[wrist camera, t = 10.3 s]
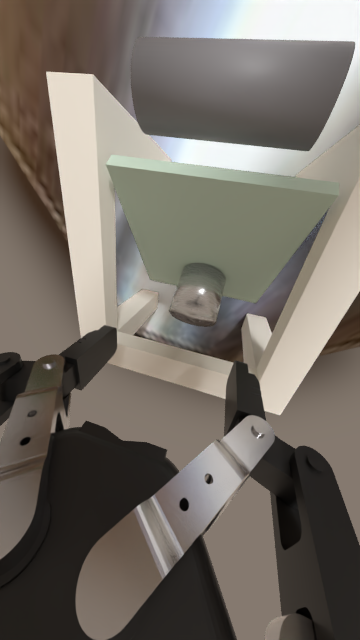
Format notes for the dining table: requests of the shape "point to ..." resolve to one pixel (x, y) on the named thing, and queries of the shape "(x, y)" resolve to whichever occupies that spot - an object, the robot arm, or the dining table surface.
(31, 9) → the dining table surface
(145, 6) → the dining table surface
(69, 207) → the trapdoor stand
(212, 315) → the cylinder
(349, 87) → the dining table surface
